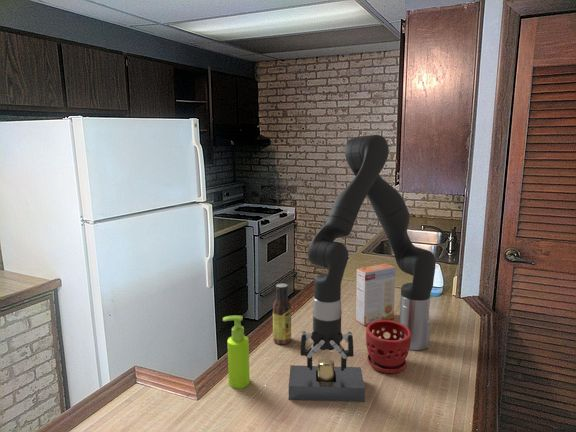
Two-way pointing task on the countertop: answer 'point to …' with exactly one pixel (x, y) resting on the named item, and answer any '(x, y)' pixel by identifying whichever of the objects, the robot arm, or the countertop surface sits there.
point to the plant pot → (387, 346)
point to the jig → (326, 385)
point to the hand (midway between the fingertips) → (326, 368)
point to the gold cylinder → (325, 370)
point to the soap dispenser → (238, 354)
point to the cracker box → (375, 293)
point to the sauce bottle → (281, 316)
